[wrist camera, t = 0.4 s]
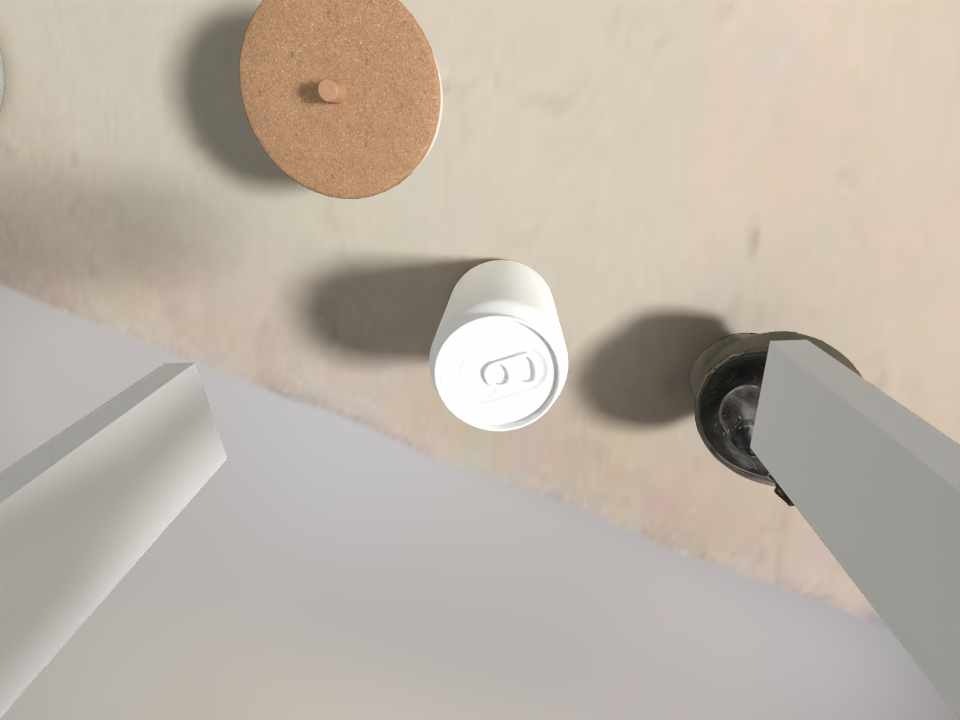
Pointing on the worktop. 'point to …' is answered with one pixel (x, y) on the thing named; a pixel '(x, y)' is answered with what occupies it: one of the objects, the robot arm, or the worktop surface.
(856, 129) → the worktop surface
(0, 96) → the cylinder vase
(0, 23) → the worktop surface
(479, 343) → the beverage can
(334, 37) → the lidded jar
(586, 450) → the worktop surface
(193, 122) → the worktop surface
